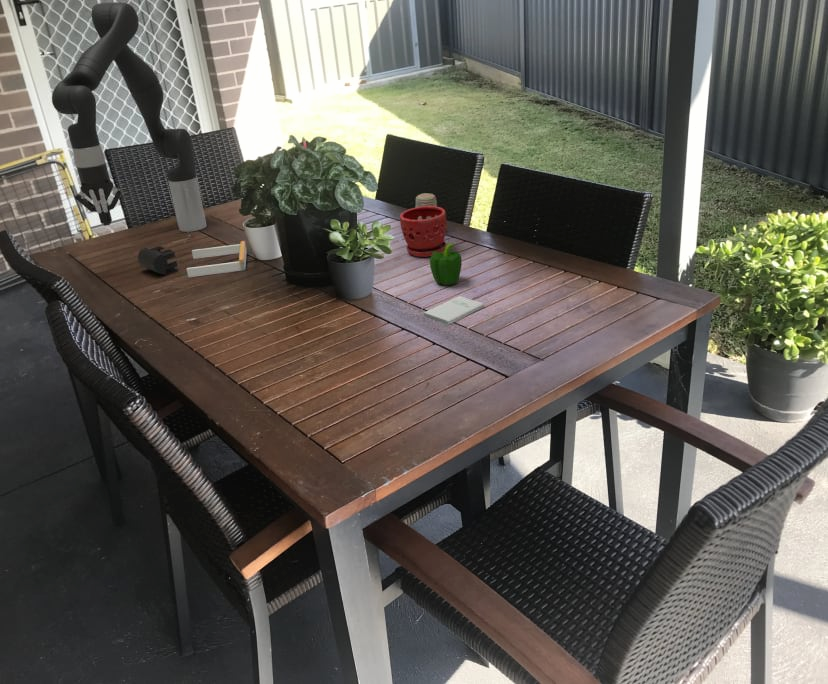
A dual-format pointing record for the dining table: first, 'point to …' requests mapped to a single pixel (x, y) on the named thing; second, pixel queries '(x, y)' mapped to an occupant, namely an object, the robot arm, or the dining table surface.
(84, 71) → the robot arm
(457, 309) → the external hard drive
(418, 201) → the carving
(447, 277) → the bell pepper
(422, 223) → the plant pot
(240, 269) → the frame
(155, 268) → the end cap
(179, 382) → the dining table surface
